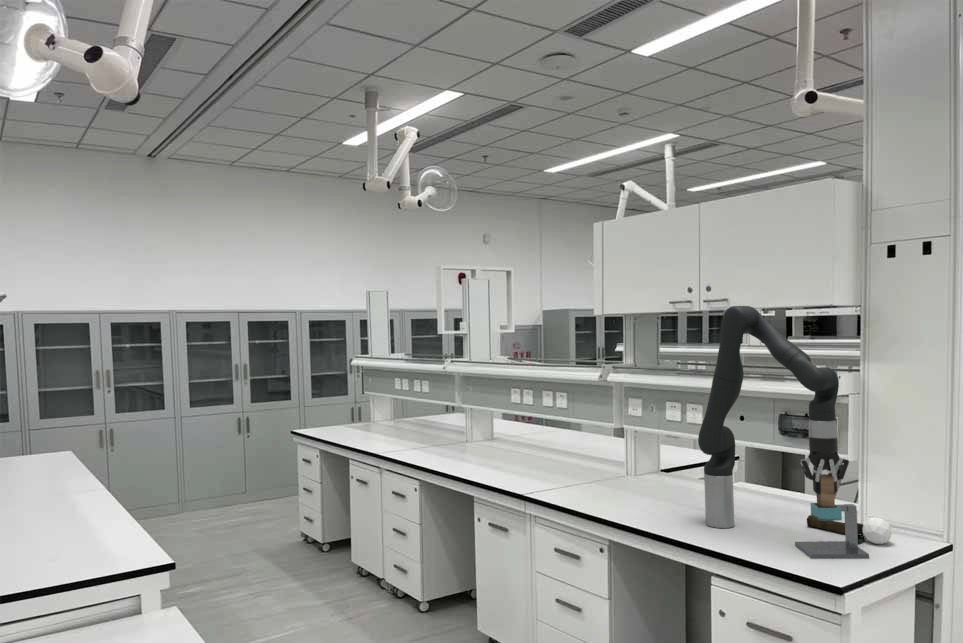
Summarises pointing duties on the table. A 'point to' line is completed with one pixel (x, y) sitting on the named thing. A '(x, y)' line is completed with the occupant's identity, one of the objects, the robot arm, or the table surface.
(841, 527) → the hand tool
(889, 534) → the ball
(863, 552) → the cup bracket
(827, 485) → the brown wooden block
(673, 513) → the table surface
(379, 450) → the table surface
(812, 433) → the robot arm
